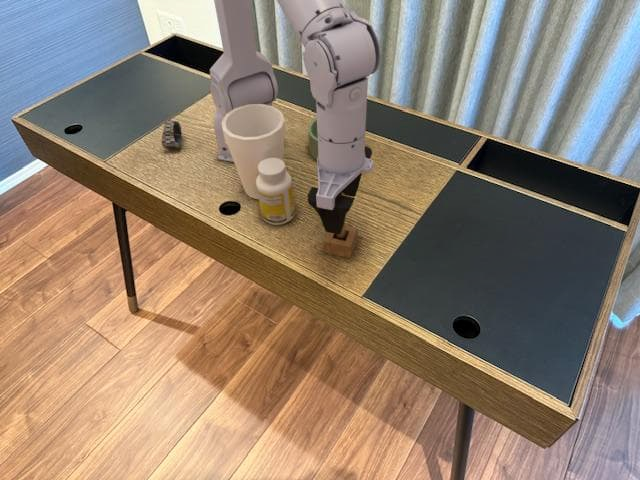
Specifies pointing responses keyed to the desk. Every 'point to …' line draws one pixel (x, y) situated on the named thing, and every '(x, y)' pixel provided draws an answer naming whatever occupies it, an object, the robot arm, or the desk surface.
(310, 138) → the bowl
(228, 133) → the foam cup
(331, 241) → the stand
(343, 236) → the stick
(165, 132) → the wristwatch
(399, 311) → the desk surface
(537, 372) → the desk surface
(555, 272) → the desk surface
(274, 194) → the supplement bottle
